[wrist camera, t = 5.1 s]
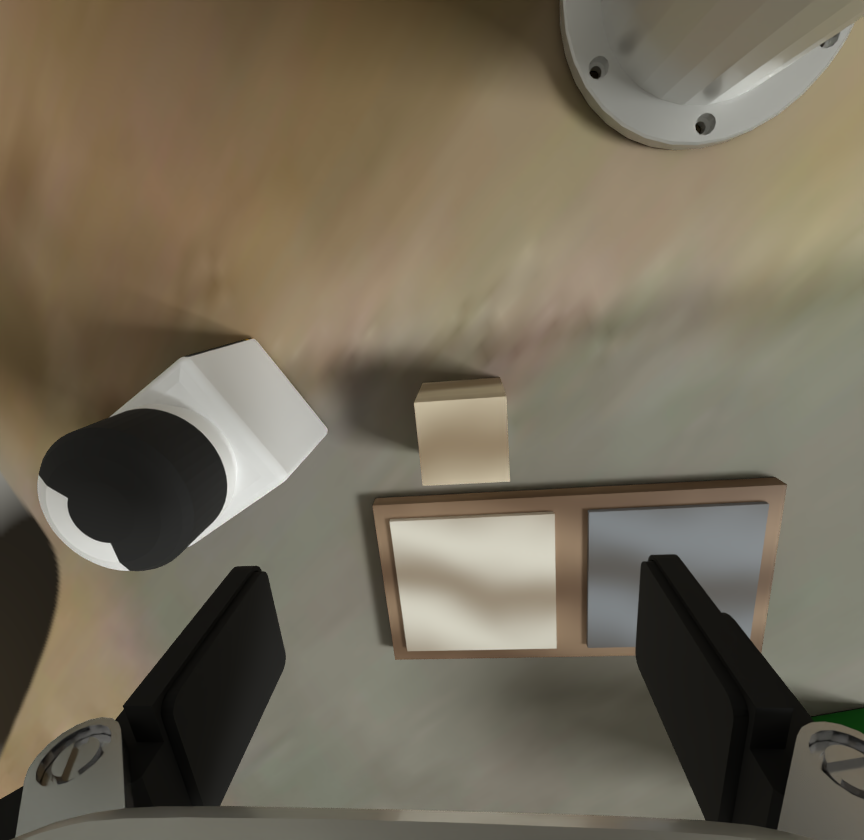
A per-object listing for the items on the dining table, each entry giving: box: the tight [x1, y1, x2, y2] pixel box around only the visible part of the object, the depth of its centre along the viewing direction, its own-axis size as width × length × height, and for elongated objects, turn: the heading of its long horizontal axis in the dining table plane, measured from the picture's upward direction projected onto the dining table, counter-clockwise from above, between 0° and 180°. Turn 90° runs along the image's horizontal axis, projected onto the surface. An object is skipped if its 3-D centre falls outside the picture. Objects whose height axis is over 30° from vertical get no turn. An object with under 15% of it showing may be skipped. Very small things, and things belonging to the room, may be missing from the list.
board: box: [373, 477, 787, 660], centre depth 29 cm, size 12×24×1 cm, turn 95°
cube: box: [414, 377, 510, 486], centre depth 25 cm, size 4×4×4 cm
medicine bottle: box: [37, 338, 328, 571], centre depth 22 cm, size 7×7×12 cm
